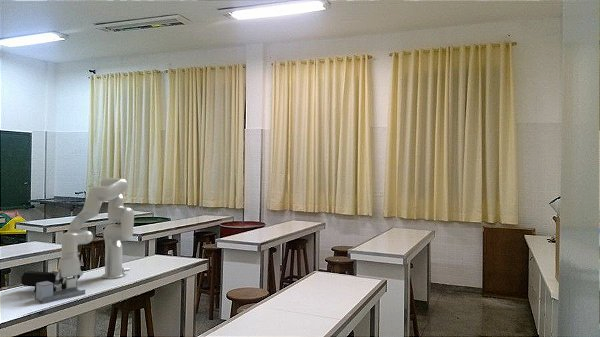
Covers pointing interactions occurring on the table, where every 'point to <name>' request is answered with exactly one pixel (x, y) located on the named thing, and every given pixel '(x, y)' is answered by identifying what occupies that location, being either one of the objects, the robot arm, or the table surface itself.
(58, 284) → the relay block
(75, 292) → the gray flat slab
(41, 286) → the mounted module
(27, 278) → the security camera
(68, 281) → the block
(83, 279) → the table surface
